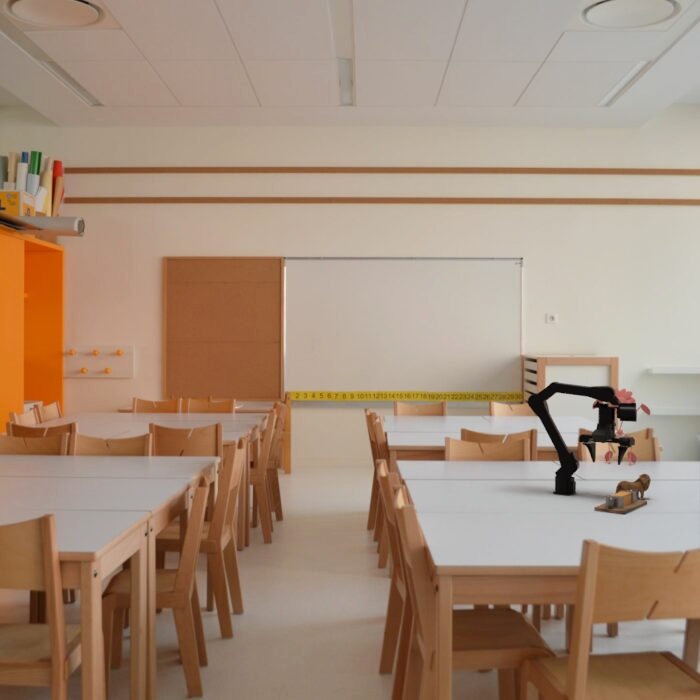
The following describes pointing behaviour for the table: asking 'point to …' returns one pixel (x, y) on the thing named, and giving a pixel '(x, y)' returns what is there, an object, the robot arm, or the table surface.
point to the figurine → (624, 398)
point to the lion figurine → (635, 485)
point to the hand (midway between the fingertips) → (606, 463)
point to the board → (624, 510)
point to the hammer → (622, 498)
